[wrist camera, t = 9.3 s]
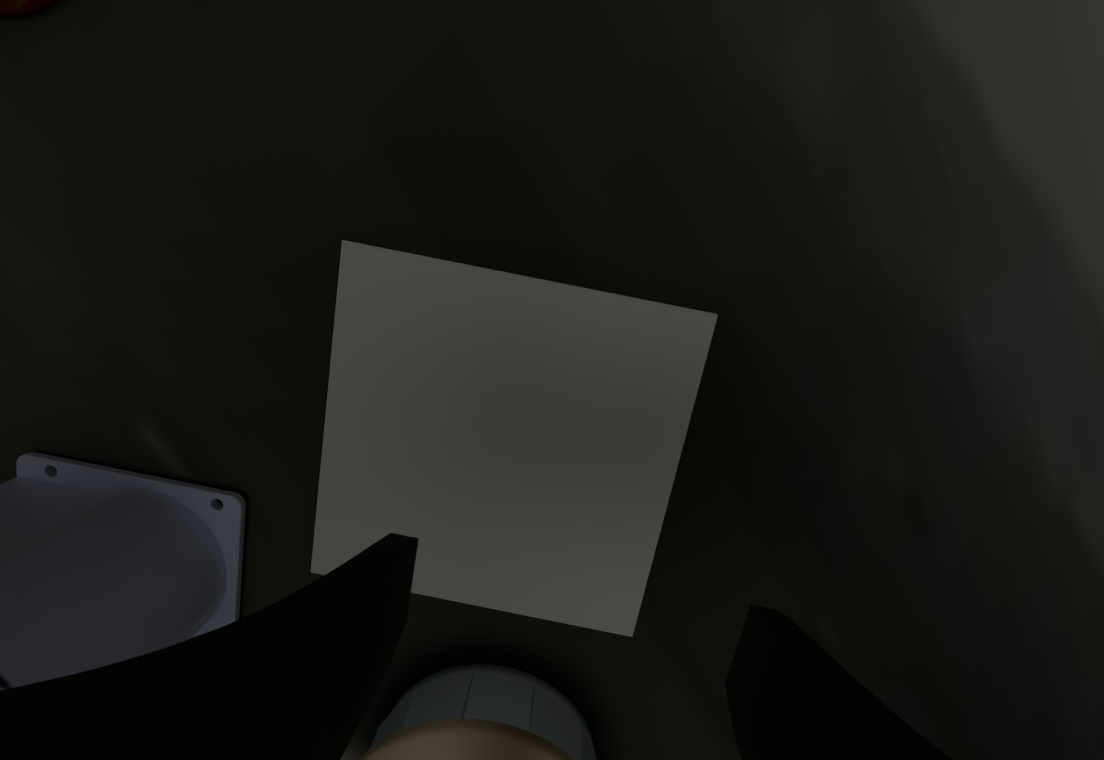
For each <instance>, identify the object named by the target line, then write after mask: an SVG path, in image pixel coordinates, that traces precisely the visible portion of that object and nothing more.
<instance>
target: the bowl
mask: <svg viewBox="0 0 1104 760" xmlns="http://www.w3.org/2000/svg"><path fill="white" fill-rule="evenodd" d="M455 718H462V719H481V720H488V721H495V722H499V723H503V724H507V725H511V726H515V727H518V728H520V729H523V730H526V731H529V732H531V733H534V734H536V735H538V736H540V737H542V738H544V739H546V740H548V741H550V742H551V743H553V744H554V745H556V746H557V747H559V748H560V749H562V750H563V751H565V752H566V753H567V754H569V755H570V756H571V757H572V758H573V759H575V760H597V758H596V755H595V747H594V741H593V738H592V735H591V732H590V729H589V727H588V725H587V723H586V721H585V719H584V718H583V716H582V715H581V713H580V712H579V710H578V709H577V708H576V707H575V705H574V704H573V703H572V702H571V701H570V700H569V699H568V698H567V697H566V696H565V695H564V694H562V693H561V692H560V691H559V690H558V689H556V688H555V687H553V686H552V685H550V684H549V683H547V682H545V681H544V680H542V679H540V678H538V677H536V676H534V675H531V674H529V673H526V672H523V671H521V670H517V669H513V668H509V667H505V666H498V665H489V664H473V665H462V666H457V667H452V668H448V669H445V670H442V671H439V672H436V673H434V674H431V675H429V676H427V677H425V678H423V679H422V680H420V681H419V682H417V683H416V684H414V685H413V686H412V687H411V688H409V689H408V690H407V691H406V692H405V693H404V694H403V695H402V696H401V697H400V699H399V700H398V701H397V702H396V704H395V705H394V707H393V709H392V710H391V712H390V714H389V716H388V717H387V718H386V719H385V720H384V721H383V722H382V723H381V724H380V726H379V728H378V730H377V733H376V735H375V738H374V740H373V742H372V745H371V747H373V746H374V745H375V744H377V743H378V742H380V741H381V740H383V739H384V738H386V737H387V736H389V735H392V734H394V733H396V732H398V731H400V730H402V729H405V728H408V727H411V726H414V725H417V724H420V723H425V722H430V721H435V720H443V719H455ZM371 747H370V748H371Z"/></svg>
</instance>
